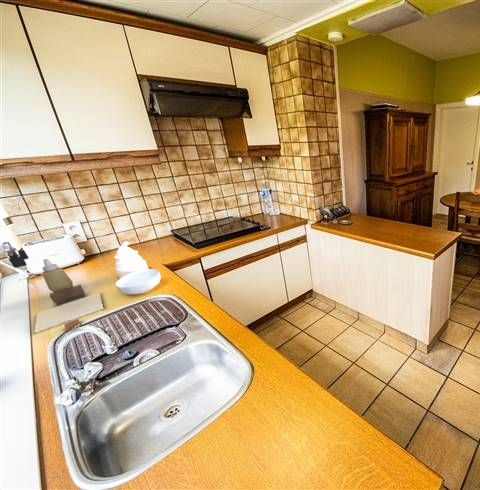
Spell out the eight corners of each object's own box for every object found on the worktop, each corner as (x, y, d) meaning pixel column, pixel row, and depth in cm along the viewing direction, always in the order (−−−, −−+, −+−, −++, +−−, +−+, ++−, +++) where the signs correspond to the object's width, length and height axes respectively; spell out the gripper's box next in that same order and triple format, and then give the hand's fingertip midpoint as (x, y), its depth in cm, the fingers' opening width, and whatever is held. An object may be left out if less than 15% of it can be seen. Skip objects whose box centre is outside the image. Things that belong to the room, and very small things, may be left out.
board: (35, 333, 104) (34, 331, 103) (38, 315, 114) (37, 313, 114) (103, 308, 117) (102, 306, 116) (100, 294, 128) (99, 292, 127)
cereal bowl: (112, 297, 125) (106, 284, 122) (148, 279, 139) (143, 267, 137) (138, 302, 120) (131, 288, 117) (172, 283, 135) (167, 270, 132)
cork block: (67, 332, 103) (64, 328, 102) (66, 328, 106) (64, 324, 105) (81, 326, 106) (79, 322, 105) (80, 322, 108) (78, 318, 108)
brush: (56, 306, 120) (49, 296, 118) (56, 303, 122) (49, 293, 120) (86, 296, 127) (80, 286, 124) (86, 293, 129) (80, 284, 126)
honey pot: (141, 266, 154) (128, 237, 147) (153, 270, 149) (141, 240, 142) (114, 276, 144) (99, 246, 137) (126, 281, 138) (111, 250, 131)
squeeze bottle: (48, 295, 129) (28, 262, 122) (69, 286, 136) (51, 255, 129) (59, 297, 127) (38, 264, 120) (79, 288, 134) (61, 256, 127)
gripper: (-15, 222, 105) (10, 260, 112) (-24, 231, 94) (4, 273, 101) (14, 217, 110) (37, 254, 117) (9, 225, 99) (34, 265, 106)
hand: (22, 262), depth 109 cm, fingers open, 9 cm apart
